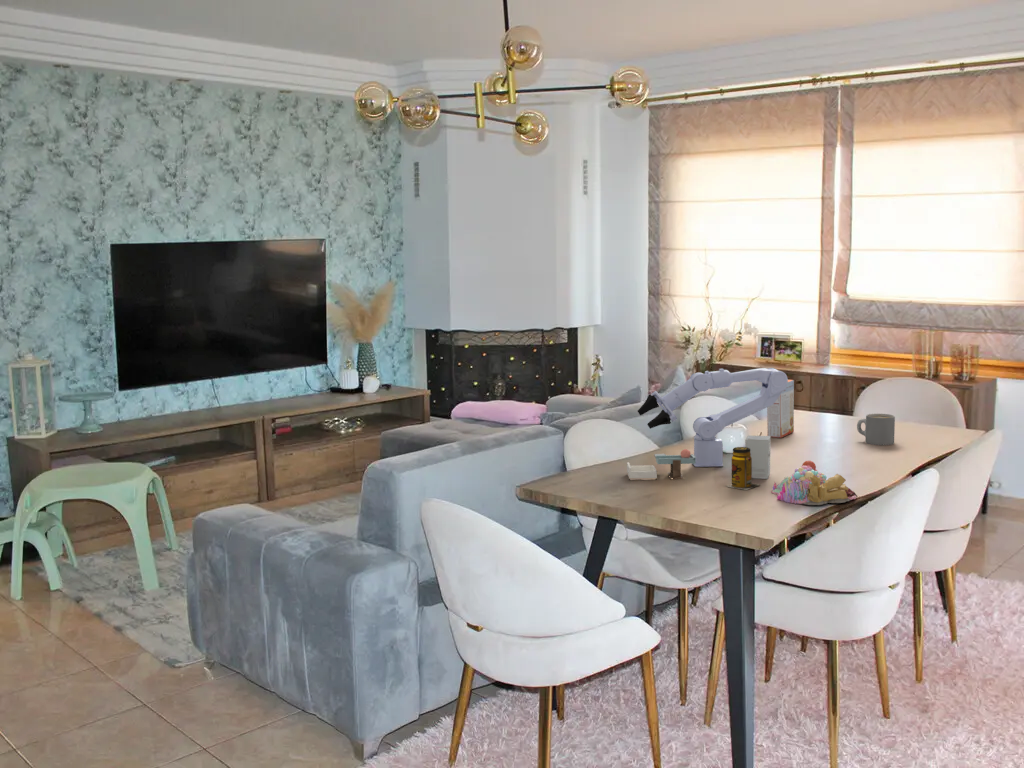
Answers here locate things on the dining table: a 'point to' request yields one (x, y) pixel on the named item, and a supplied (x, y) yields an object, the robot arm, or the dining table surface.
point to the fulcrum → (676, 470)
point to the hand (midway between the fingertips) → (643, 419)
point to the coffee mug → (878, 429)
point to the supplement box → (759, 455)
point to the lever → (669, 459)
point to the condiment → (742, 469)
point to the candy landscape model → (812, 487)
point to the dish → (641, 471)
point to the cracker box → (782, 413)
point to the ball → (685, 453)
